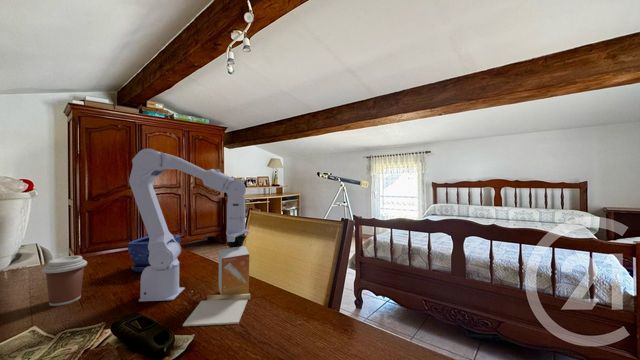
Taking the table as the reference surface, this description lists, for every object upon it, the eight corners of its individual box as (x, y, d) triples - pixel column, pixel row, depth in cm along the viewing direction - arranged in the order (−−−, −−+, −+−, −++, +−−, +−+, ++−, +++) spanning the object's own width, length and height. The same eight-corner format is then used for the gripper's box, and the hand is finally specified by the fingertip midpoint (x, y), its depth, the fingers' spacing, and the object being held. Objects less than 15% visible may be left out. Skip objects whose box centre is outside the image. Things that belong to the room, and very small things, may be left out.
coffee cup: (34, 304, 70) (35, 261, 70) (76, 291, 79) (76, 253, 79) (52, 311, 67) (52, 266, 67) (93, 296, 75) (94, 256, 75)
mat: (182, 326, 60) (182, 324, 60) (201, 302, 72) (201, 300, 72) (238, 323, 61) (238, 322, 61) (247, 300, 73) (247, 298, 73)
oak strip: (207, 301, 72) (207, 296, 72) (208, 300, 73) (208, 295, 73) (249, 299, 73) (249, 294, 73) (250, 298, 74) (250, 293, 74)
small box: (221, 299, 74) (221, 258, 71) (218, 287, 79) (218, 249, 77) (249, 292, 78) (249, 253, 75) (244, 282, 83) (245, 245, 81)
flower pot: (161, 274, 93) (161, 242, 93) (125, 274, 93) (126, 242, 93) (181, 263, 106) (181, 234, 106) (150, 262, 106) (150, 234, 106)
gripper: (244, 220, 75) (244, 265, 75) (252, 214, 89) (252, 252, 89) (219, 220, 74) (219, 266, 74) (232, 214, 89) (231, 252, 89)
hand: (236, 258), depth 82 cm, fingers closed
